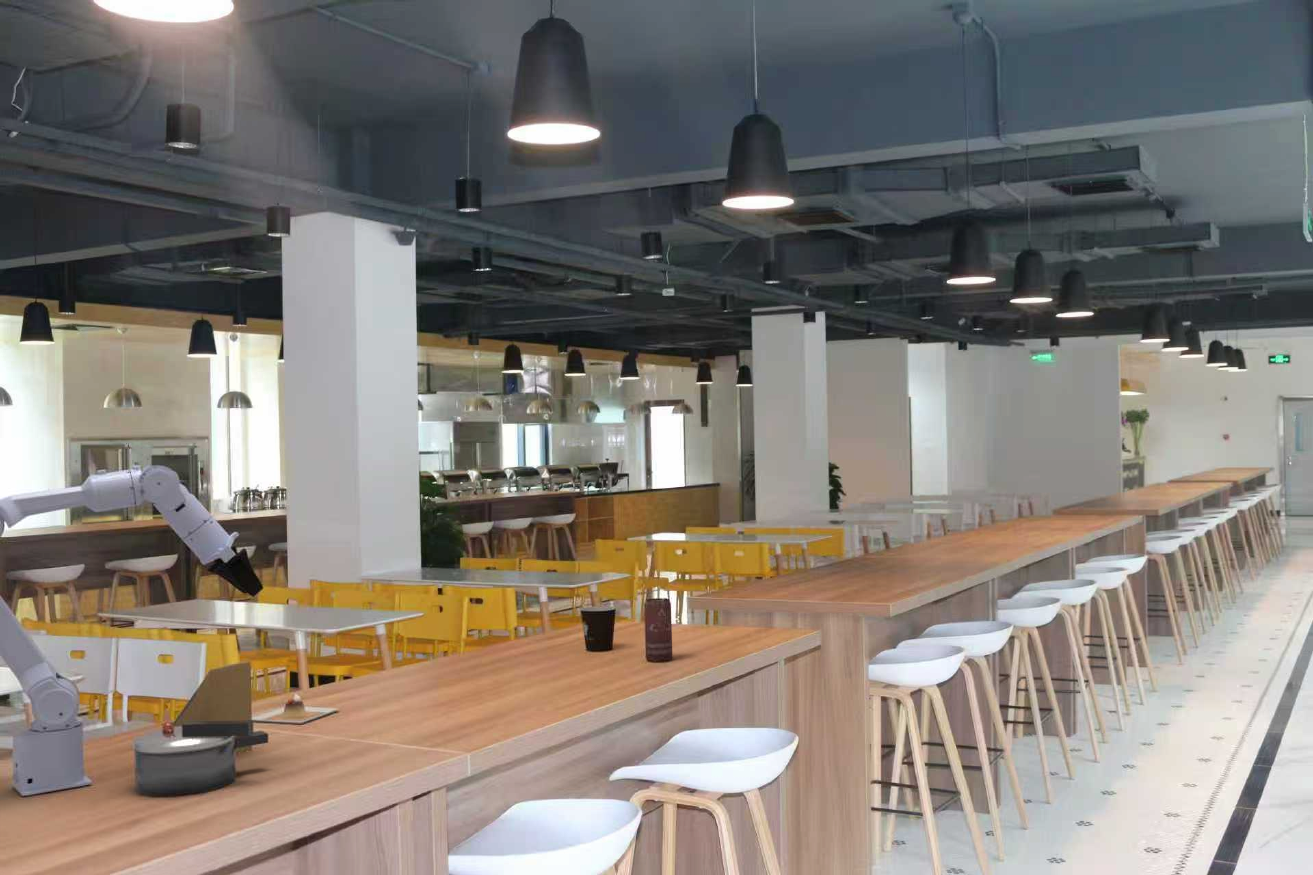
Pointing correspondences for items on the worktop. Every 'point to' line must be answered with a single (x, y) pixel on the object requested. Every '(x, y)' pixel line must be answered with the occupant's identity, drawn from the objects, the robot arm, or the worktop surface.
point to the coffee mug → (598, 628)
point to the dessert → (294, 712)
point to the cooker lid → (191, 736)
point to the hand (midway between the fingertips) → (253, 591)
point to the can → (658, 630)
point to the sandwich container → (221, 698)
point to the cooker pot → (190, 769)
